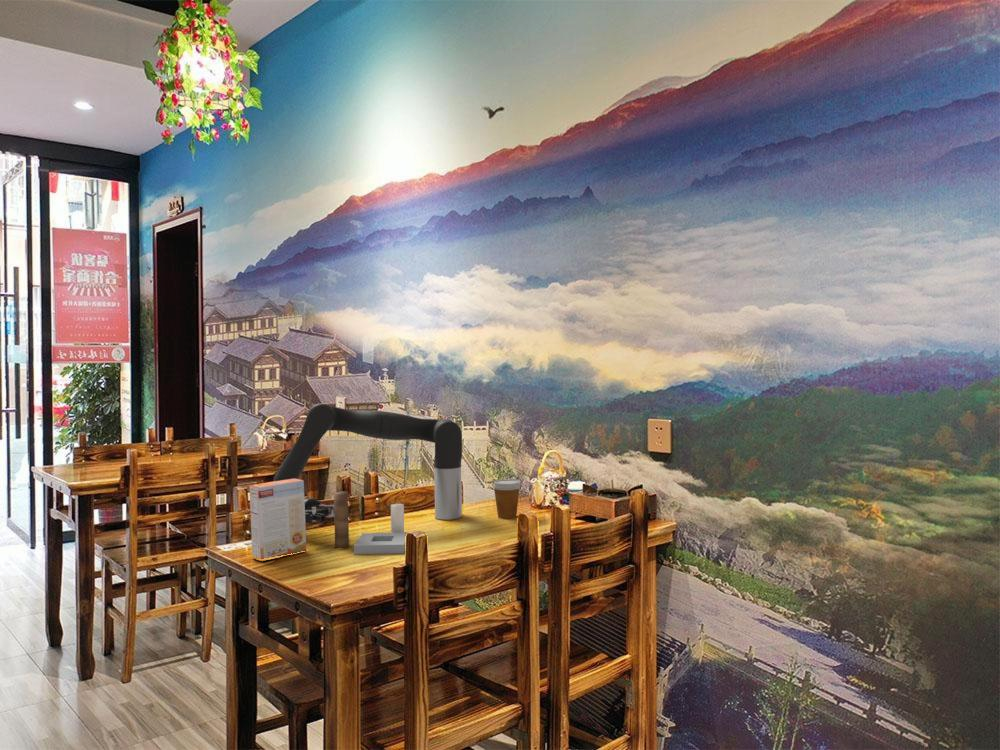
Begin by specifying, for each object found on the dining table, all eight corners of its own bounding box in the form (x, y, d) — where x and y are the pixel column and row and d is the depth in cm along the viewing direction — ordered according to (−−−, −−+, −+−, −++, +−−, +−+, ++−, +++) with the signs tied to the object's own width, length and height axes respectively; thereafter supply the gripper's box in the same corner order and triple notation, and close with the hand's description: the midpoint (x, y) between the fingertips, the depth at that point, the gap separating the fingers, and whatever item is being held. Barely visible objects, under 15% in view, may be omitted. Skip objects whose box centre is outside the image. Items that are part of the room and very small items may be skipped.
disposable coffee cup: (524, 518, 247) (523, 483, 246) (496, 520, 245) (496, 484, 244) (517, 512, 256) (516, 478, 256) (490, 514, 254) (489, 480, 253)
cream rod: (392, 535, 227) (391, 503, 227) (405, 535, 227) (404, 503, 227) (390, 539, 223) (389, 506, 223) (403, 538, 223) (403, 506, 223)
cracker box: (296, 548, 214) (294, 477, 213) (307, 552, 209) (305, 479, 209) (250, 559, 204) (248, 484, 203) (260, 563, 200) (258, 486, 199)
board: (362, 541, 221) (362, 533, 221) (409, 540, 221) (409, 532, 221) (354, 554, 207) (353, 545, 207) (403, 553, 207) (403, 544, 207)
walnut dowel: (336, 545, 217) (335, 491, 216) (350, 545, 217) (349, 491, 216) (333, 549, 213) (332, 494, 212) (347, 548, 213) (346, 493, 212)
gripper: (282, 501, 220) (316, 507, 210) (321, 493, 232) (355, 499, 221) (283, 526, 221) (317, 533, 211) (322, 517, 232) (356, 523, 222)
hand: (336, 515), depth 216 cm, fingers open, 8 cm apart
